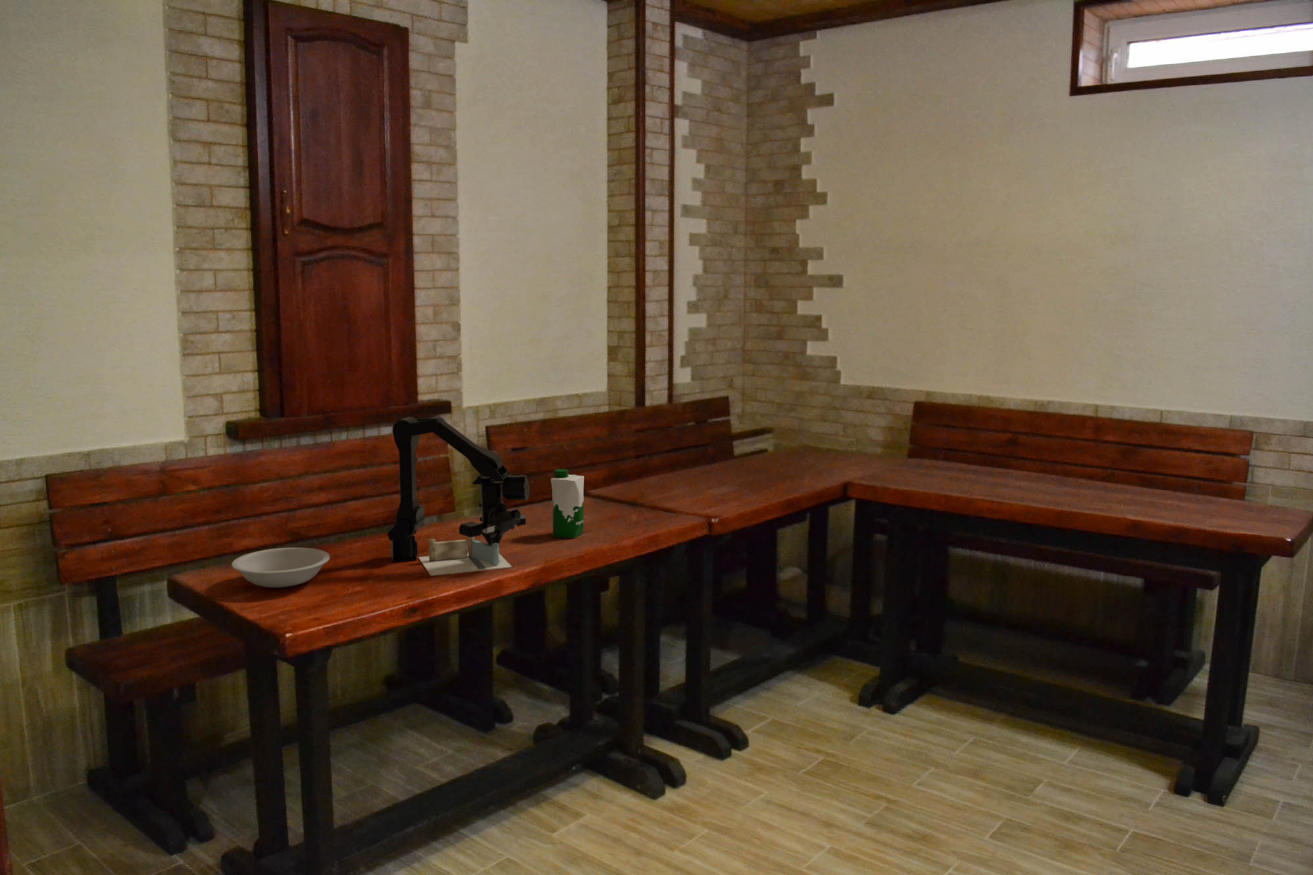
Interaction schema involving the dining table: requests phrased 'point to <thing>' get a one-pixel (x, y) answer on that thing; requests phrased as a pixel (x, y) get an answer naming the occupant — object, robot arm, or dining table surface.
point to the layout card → (460, 565)
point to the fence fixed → (450, 549)
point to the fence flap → (486, 552)
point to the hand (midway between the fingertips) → (494, 554)
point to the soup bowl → (281, 566)
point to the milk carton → (567, 504)
